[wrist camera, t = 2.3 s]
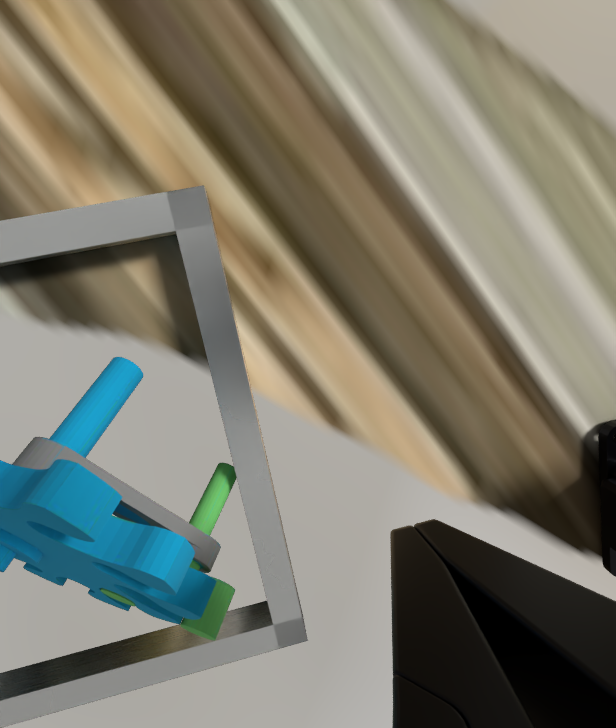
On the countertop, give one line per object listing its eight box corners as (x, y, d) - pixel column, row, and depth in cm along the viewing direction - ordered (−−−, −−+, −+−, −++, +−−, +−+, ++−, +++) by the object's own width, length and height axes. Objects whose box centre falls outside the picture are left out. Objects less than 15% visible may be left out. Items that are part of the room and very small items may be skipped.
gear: (-240, 473, 12) (-379, 349, 5) (-56, 319, 15) (11, 124, 9) (121, 641, 16) (315, 699, 9) (199, 489, 20) (379, 451, 13)
